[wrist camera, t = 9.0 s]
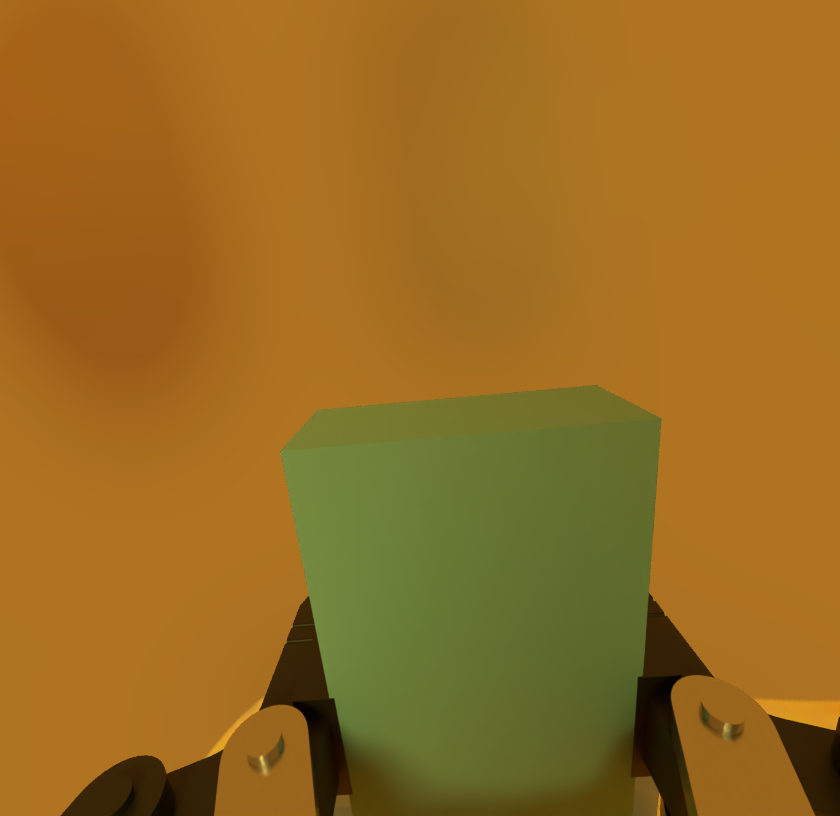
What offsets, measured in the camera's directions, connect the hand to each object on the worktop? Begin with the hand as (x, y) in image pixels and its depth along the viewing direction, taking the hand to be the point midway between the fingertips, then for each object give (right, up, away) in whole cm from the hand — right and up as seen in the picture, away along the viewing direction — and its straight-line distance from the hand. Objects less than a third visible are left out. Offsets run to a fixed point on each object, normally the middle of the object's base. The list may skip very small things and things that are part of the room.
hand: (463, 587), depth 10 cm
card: (+1, -7, -1) cm, 7 cm away
